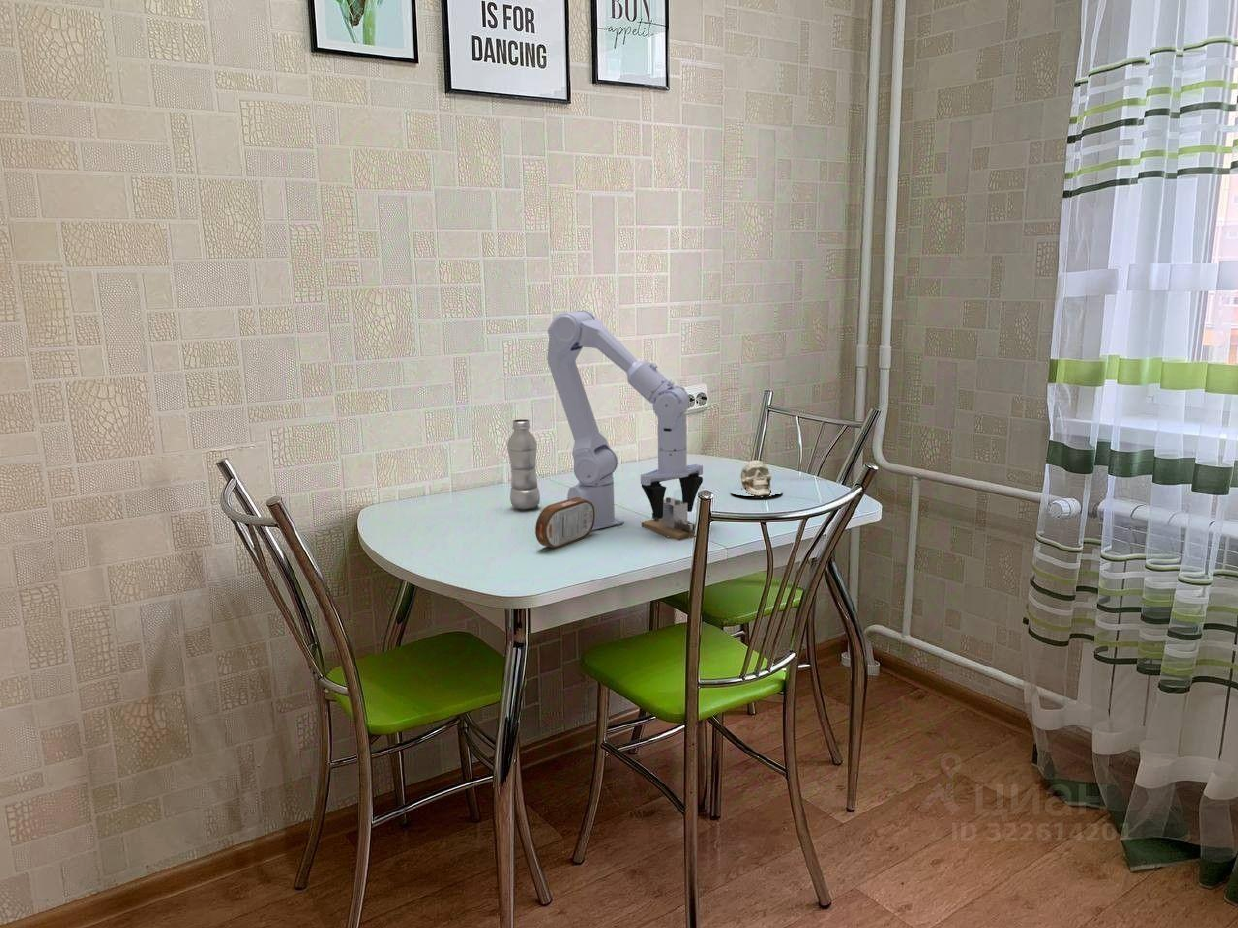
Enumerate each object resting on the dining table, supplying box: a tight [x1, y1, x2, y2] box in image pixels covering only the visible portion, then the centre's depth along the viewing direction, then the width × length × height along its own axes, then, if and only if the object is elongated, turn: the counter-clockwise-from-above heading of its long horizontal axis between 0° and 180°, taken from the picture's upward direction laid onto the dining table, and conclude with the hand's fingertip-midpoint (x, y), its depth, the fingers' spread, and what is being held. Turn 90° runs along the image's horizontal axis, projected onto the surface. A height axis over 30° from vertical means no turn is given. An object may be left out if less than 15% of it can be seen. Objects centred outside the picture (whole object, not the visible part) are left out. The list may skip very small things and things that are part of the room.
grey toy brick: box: [659, 496, 689, 530], centre depth 186 cm, size 4×5×6 cm
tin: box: [534, 497, 595, 549], centre depth 180 cm, size 15×3×8 cm, turn 141°
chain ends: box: [651, 512, 696, 532], centre depth 187 cm, size 2×12×2 cm, turn 35°
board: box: [641, 519, 697, 541], centre depth 187 cm, size 7×12×1 cm, turn 35°
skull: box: [740, 460, 772, 498], centre depth 213 cm, size 12×12×8 cm
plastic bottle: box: [506, 418, 541, 511], centre depth 203 cm, size 6×7×20 cm
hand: (672, 514), depth 186 cm, fingers open, 7 cm apart
